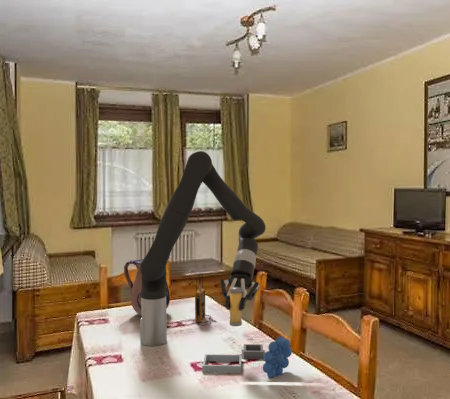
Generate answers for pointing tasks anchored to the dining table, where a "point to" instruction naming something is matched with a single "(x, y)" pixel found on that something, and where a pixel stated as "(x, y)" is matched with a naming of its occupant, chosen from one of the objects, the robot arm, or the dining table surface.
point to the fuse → (235, 306)
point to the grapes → (277, 357)
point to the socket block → (253, 351)
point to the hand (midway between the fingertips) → (234, 308)
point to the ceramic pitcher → (139, 287)
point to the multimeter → (200, 303)
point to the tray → (221, 367)
